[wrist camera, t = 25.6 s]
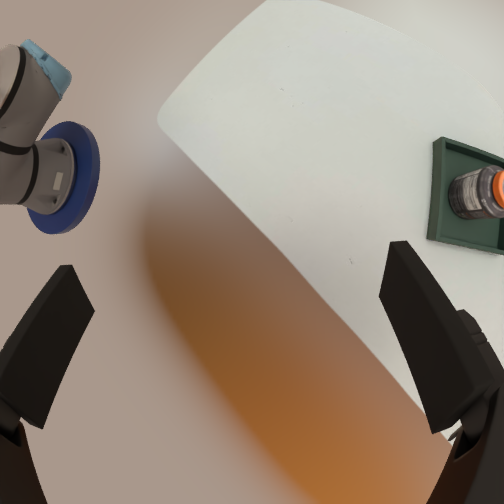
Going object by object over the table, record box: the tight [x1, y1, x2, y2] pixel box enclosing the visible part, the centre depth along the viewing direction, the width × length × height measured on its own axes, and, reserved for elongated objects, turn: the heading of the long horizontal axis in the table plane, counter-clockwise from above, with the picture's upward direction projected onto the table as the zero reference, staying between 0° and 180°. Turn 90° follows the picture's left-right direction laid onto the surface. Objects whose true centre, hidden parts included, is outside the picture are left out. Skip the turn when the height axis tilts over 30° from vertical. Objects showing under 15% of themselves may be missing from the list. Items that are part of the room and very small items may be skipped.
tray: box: [427, 137, 504, 255], centre depth 29 cm, size 13×13×3 cm
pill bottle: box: [448, 165, 504, 220], centre depth 25 cm, size 6×6×11 cm
